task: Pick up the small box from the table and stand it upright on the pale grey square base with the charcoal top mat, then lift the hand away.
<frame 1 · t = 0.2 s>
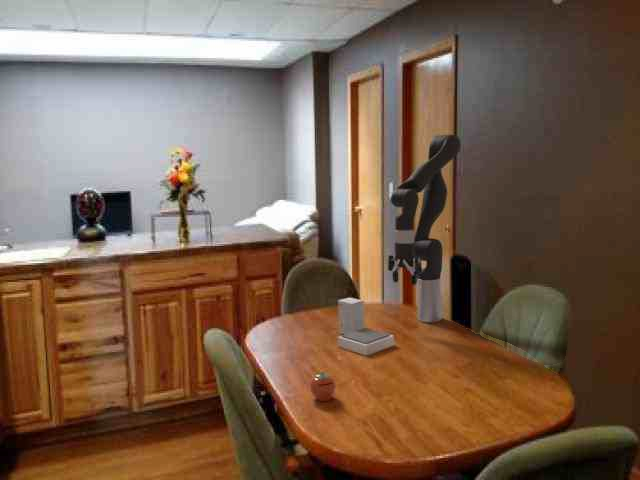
hand: (404, 283, 221), 18 cm above the table, tool pointing down, fingers open, 8 cm apart
small box: (352, 334, 219), on the table
tomato: (323, 399, 162), on the table
stack base: (365, 345, 204), on the table
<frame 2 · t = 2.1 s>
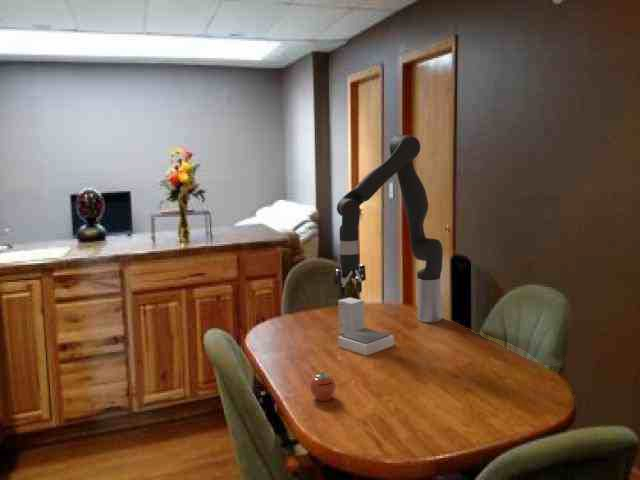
hand: (350, 294, 217), 15 cm above the table, tool pointing down, fingers open, 8 cm apart
nothing on the table moved.
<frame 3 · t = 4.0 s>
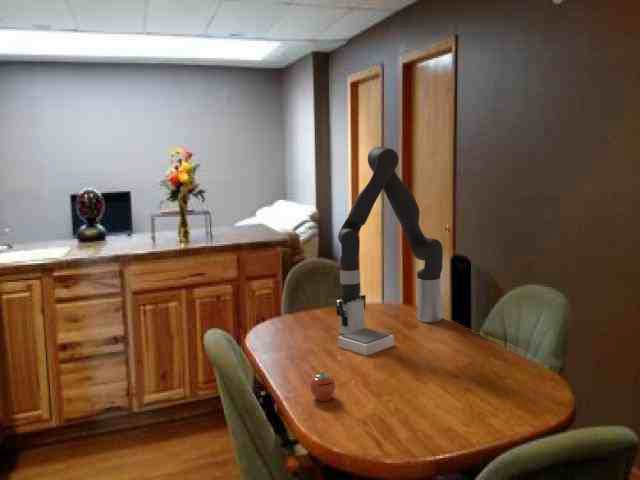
hand: (351, 324, 219), 4 cm above the table, tool pointing down, fingers closed on small box, 6 cm apart
small box: (352, 333, 219), on the table, touching gripper
everything else where it was.
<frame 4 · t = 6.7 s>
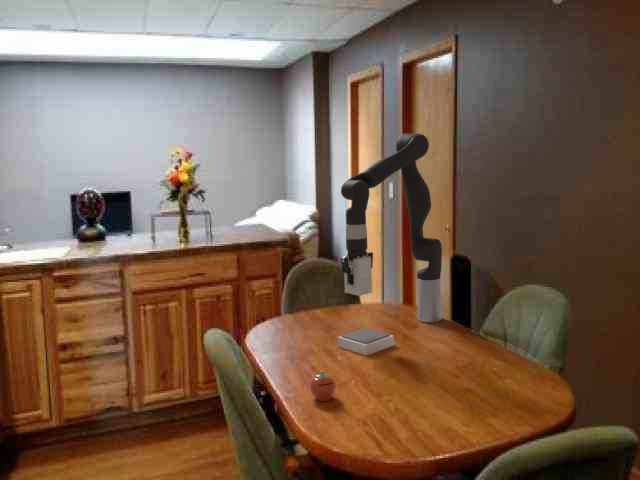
hand: (358, 282, 206), 22 cm above the table, tool pointing down, fingers closed on small box, 6 cm apart
small box: (358, 293, 207), point 18 cm above the table, touching gripper
everything else where it was.
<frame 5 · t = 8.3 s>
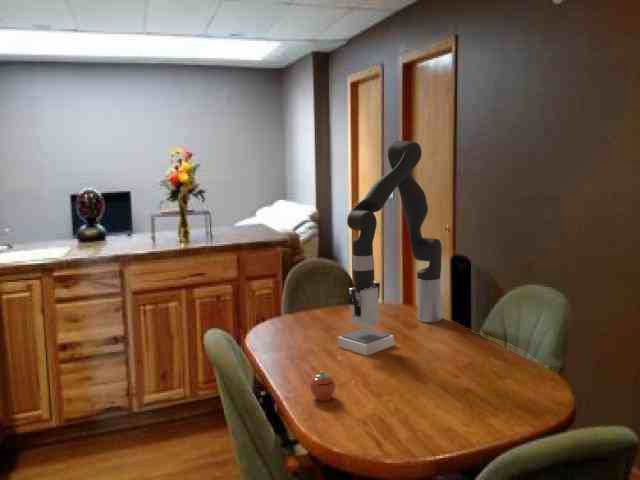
hand: (365, 313, 203), 12 cm above the table, tool pointing down, fingers closed on small box, 6 cm apart
small box: (365, 324, 203), point 8 cm above the table, touching gripper
everything else where it was.
when the fingers open (9 cm above the table, at t = 9.8 s): small box drops 1 cm, resting on stack base.
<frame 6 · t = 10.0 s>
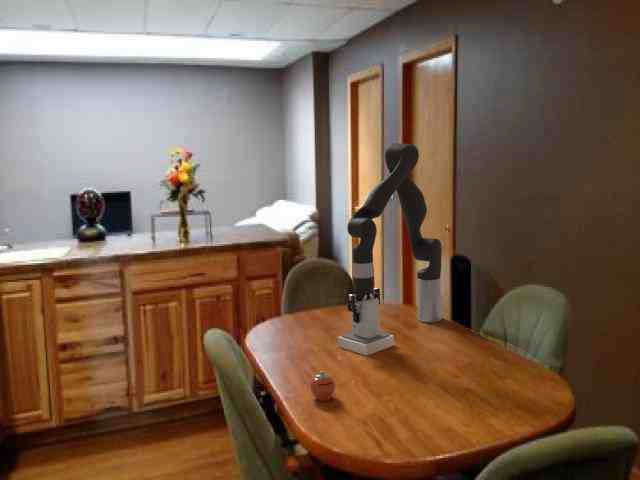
hand: (365, 320, 203), 9 cm above the table, tool pointing down, fingers open, 8 cm apart
small box: (366, 335, 204), point 4 cm above the table, touching stack base
everything else where it was.
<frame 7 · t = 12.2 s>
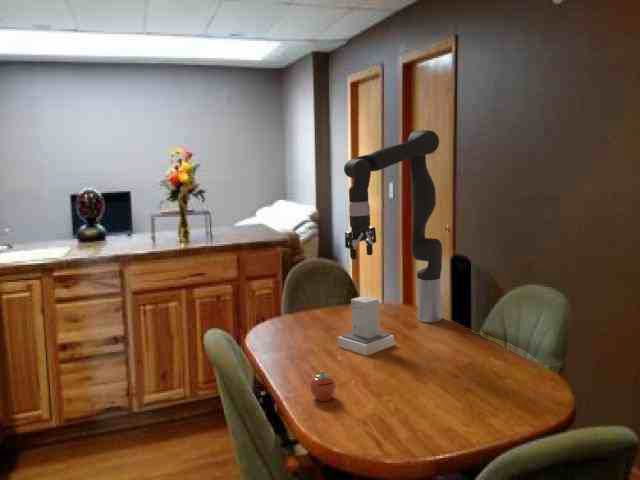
hand: (361, 257, 214), 30 cm above the table, tool pointing down, fingers open, 8 cm apart
nothing on the table moved.
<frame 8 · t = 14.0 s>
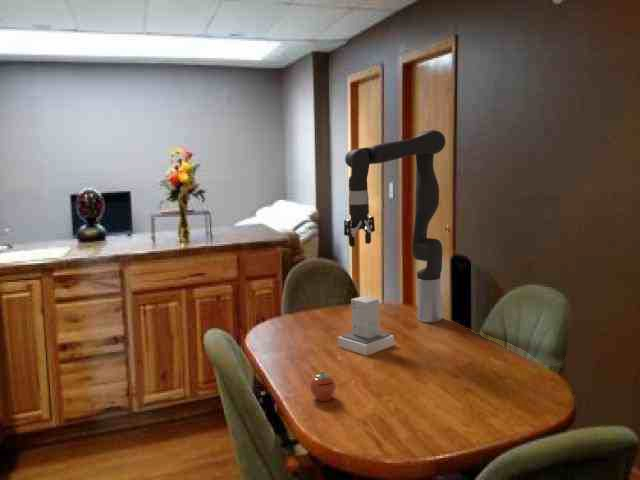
hand: (360, 245, 220), 33 cm above the table, tool pointing down, fingers open, 8 cm apart
nothing on the table moved.
at the end: small box inside the target area on the stack base (0.3 cm from its centre), point 3.8 cm above the stack base's base; small box tilted 0°; the gripper is holding nothing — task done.
